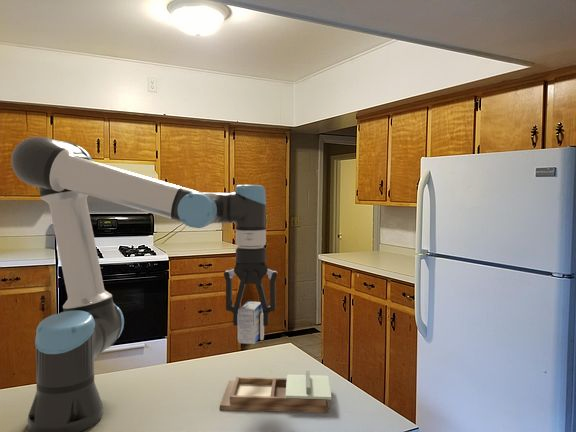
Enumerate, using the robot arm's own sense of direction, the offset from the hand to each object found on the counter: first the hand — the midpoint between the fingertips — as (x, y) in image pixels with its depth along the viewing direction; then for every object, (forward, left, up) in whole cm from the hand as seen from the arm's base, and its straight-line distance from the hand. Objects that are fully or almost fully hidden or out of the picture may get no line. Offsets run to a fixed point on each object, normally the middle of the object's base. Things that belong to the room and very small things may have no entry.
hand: (250, 337), depth 112 cm
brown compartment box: (+6, 0, -15) cm, 17 cm away
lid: (+15, 0, -12) cm, 19 cm away
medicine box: (0, 0, 0) cm, 0 cm away
